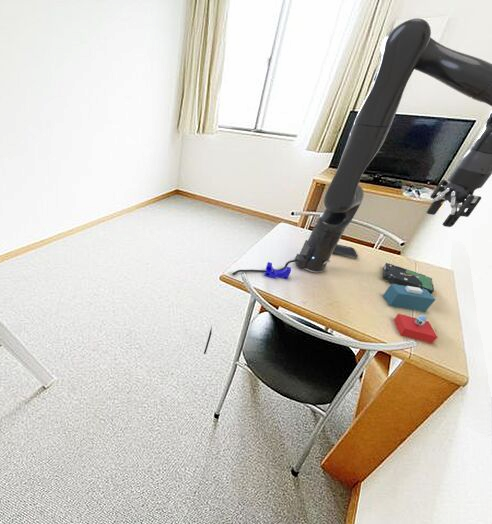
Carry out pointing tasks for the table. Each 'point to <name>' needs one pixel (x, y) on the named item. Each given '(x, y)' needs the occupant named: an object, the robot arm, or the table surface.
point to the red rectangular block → (415, 328)
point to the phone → (345, 251)
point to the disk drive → (407, 278)
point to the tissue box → (408, 297)
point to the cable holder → (276, 272)
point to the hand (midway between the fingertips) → (438, 219)
